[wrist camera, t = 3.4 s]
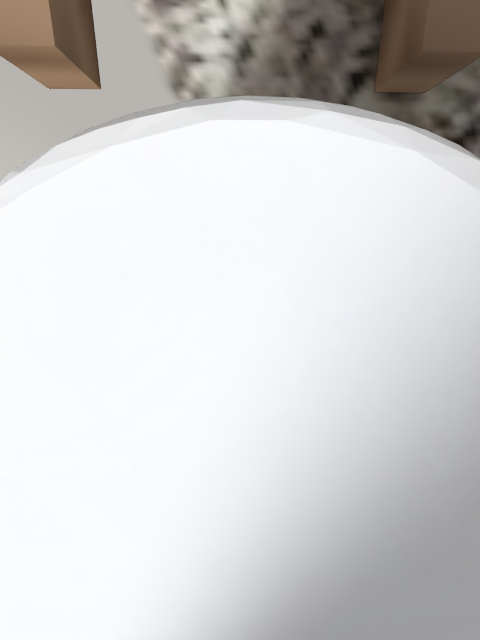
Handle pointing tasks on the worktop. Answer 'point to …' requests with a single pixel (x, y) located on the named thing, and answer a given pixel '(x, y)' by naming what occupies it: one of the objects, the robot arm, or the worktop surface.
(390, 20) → the wooden u-shaped bracket
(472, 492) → the supplement bottle
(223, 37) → the worktop surface
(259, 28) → the worktop surface
